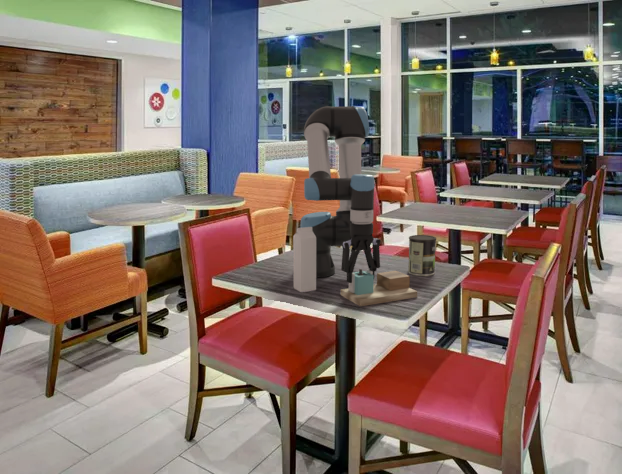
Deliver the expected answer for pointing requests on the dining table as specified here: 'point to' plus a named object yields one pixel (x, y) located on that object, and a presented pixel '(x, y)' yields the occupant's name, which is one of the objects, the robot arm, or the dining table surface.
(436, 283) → the dining table surface
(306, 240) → the milk
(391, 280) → the block
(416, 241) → the coffee can
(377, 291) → the base board
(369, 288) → the teal hollow cube
